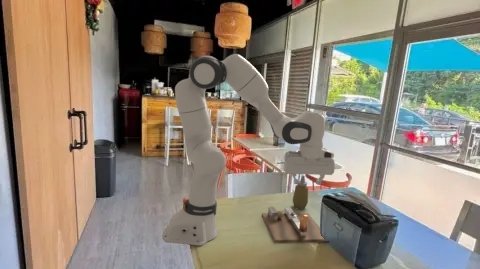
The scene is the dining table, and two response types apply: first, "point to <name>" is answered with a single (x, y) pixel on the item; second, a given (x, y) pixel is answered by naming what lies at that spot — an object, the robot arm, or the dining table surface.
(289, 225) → the walnut board
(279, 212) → the tan wooden ball
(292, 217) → the lever
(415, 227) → the dining table surface
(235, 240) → the dining table surface
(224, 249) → the dining table surface
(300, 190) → the squeeze bottle
